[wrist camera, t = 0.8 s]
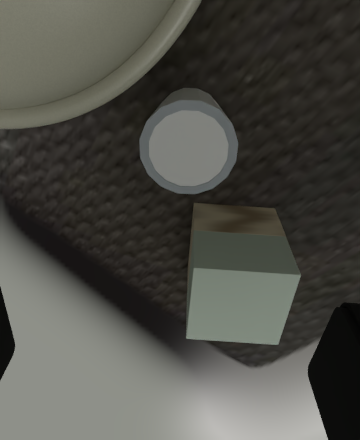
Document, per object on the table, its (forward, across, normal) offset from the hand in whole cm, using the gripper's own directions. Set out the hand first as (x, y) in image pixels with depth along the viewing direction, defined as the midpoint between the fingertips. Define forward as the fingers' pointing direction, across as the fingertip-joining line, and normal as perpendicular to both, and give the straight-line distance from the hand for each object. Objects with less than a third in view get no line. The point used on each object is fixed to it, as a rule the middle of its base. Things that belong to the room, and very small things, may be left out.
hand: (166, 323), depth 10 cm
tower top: (+18, -6, +13) cm, 23 cm away
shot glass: (+23, -1, +1) cm, 23 cm away
